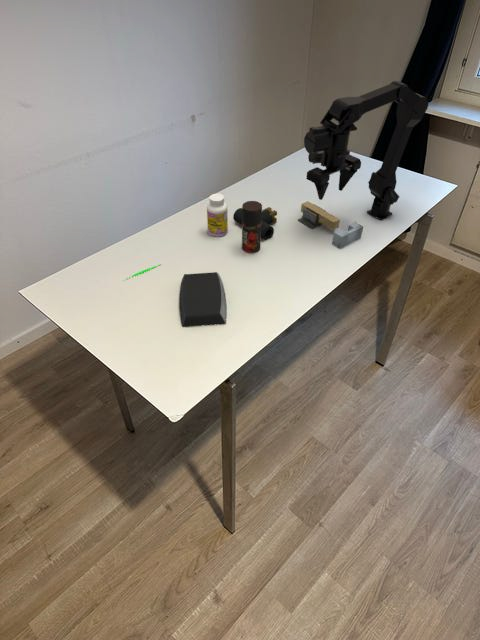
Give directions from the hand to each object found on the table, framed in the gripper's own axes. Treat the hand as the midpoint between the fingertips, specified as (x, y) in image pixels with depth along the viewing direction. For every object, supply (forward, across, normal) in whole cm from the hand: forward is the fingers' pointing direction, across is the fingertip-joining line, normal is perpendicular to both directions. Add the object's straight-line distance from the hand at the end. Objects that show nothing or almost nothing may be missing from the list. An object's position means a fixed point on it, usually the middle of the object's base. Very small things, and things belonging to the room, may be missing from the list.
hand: (330, 194), depth 142 cm
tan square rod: (+11, 0, -3) cm, 11 cm away
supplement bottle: (+12, +30, -21) cm, 39 cm away
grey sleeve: (+12, 0, -6) cm, 14 cm away
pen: (+13, +61, -17) cm, 65 cm away
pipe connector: (+13, +16, -15) cm, 26 cm away
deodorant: (+12, +27, -7) cm, 31 cm away
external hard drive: (+13, +54, +4) cm, 56 cm away
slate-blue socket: (+12, 0, +10) cm, 16 cm away
